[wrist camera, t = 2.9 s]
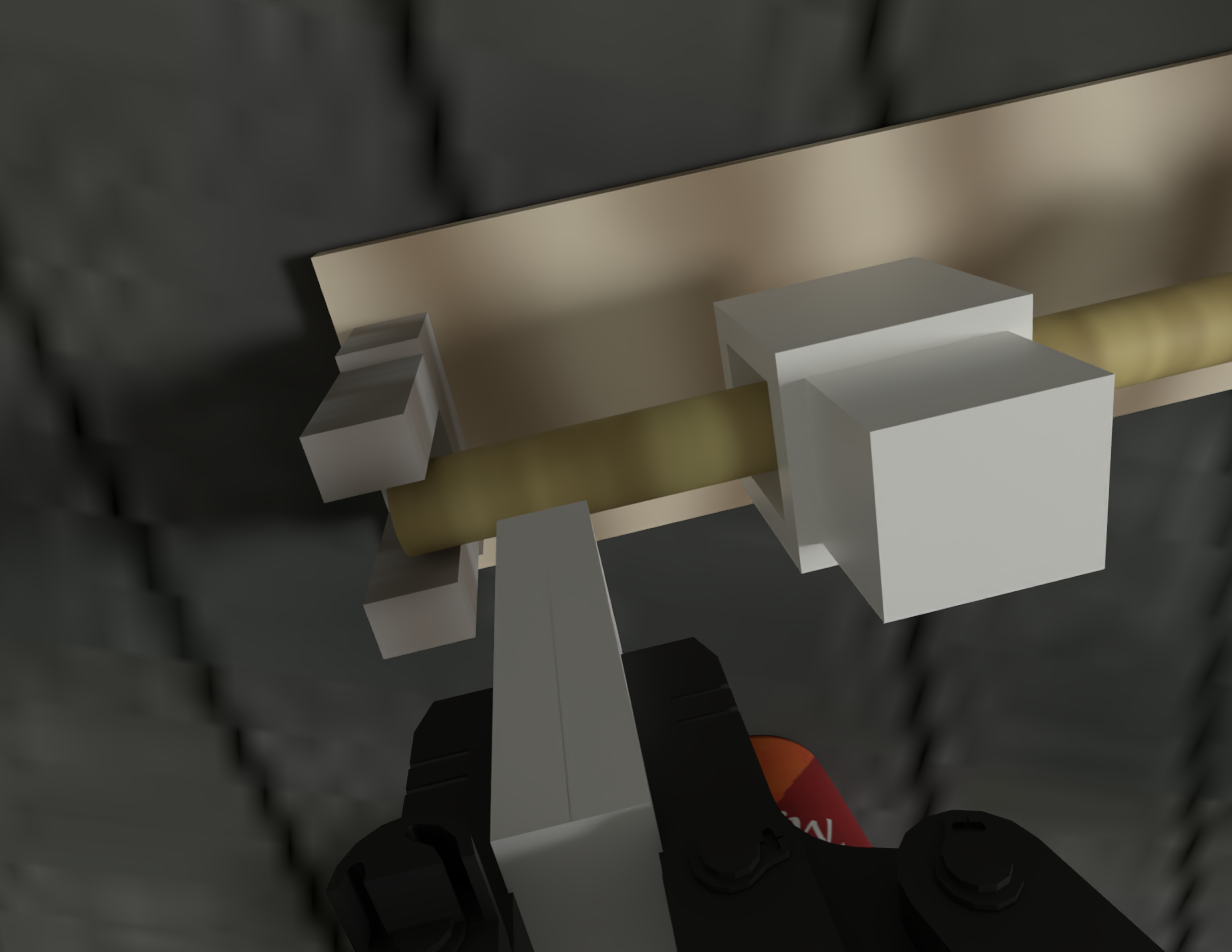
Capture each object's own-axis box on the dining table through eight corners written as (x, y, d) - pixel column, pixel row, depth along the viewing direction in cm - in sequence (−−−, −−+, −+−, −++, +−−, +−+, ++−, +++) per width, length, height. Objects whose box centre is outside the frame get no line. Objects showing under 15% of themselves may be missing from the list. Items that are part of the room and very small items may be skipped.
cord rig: (424, 566, 27) (386, 799, 17) (318, 252, 22) (196, 340, 13) (1417, 330, 28) (1864, 430, 19) (1486, -6, 24) (2098, -86, 15)
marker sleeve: (739, 482, 22) (859, 658, 15) (712, 302, 20) (835, 403, 13) (923, 438, 22) (1129, 591, 15) (915, 256, 20) (1148, 329, 13)
